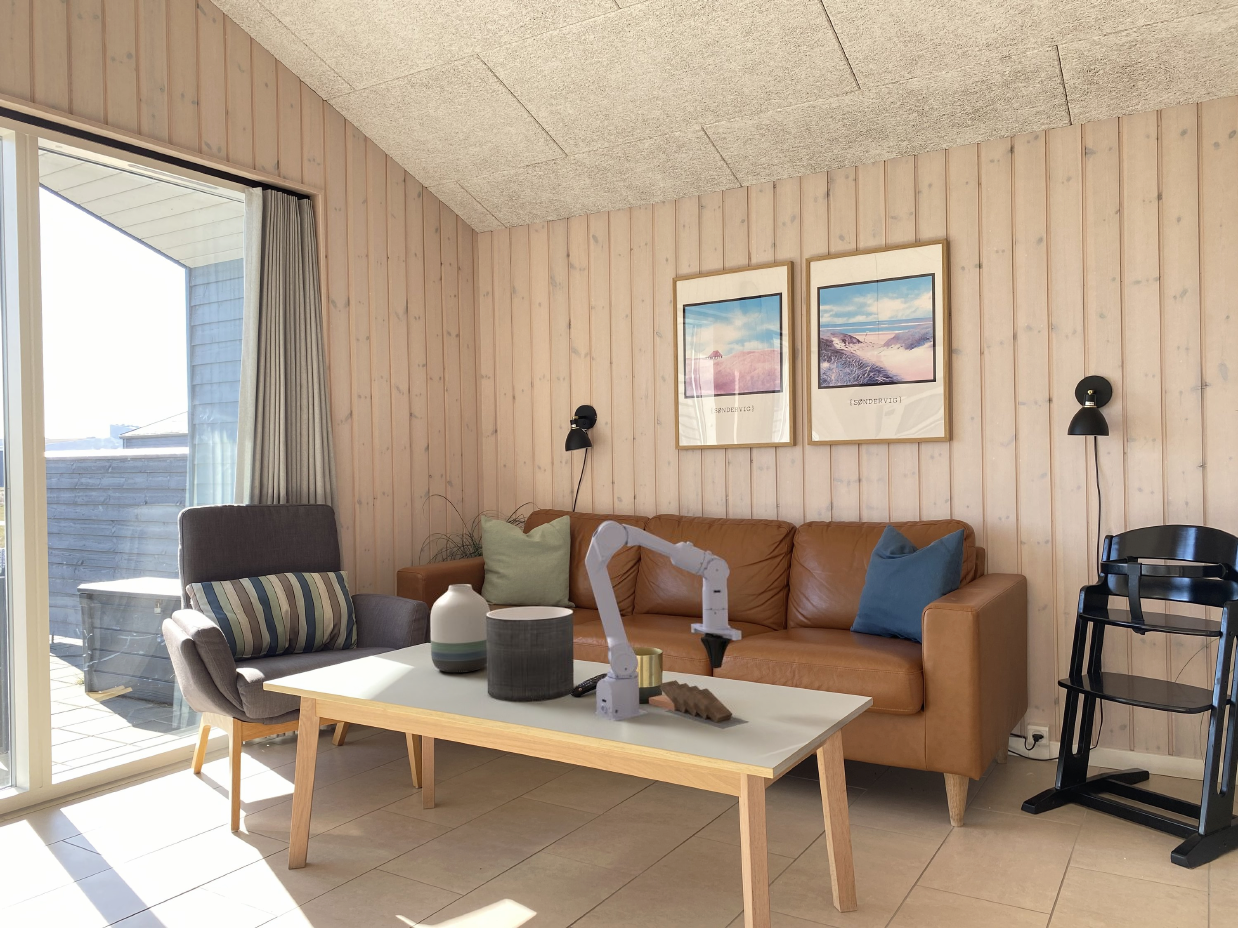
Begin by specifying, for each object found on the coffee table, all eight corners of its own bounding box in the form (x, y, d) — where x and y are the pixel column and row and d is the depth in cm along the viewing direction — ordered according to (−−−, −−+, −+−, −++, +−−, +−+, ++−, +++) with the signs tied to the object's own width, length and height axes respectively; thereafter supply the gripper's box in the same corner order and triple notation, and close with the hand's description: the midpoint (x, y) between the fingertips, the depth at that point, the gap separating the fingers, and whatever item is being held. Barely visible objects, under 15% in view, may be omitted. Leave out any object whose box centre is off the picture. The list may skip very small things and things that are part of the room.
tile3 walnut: (696, 710, 197) (672, 685, 203) (694, 716, 198) (670, 691, 204) (710, 707, 200) (686, 682, 206) (708, 713, 200) (684, 688, 207)
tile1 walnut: (718, 717, 192) (692, 691, 198) (715, 722, 192) (690, 697, 199) (732, 713, 194) (706, 688, 201) (730, 719, 195) (704, 693, 201)
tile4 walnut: (685, 707, 200) (661, 683, 206) (683, 713, 200) (659, 688, 207) (699, 704, 203) (676, 680, 209) (697, 709, 203) (674, 685, 210)
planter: (469, 697, 220) (468, 616, 220) (516, 678, 240) (515, 604, 240) (547, 705, 211) (545, 621, 211) (589, 685, 231) (587, 608, 231)
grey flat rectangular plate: (723, 729, 188) (723, 728, 188) (664, 712, 203) (664, 710, 203) (749, 722, 193) (749, 721, 193) (690, 706, 208) (690, 704, 208)
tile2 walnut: (706, 713, 194) (682, 688, 201) (704, 719, 195) (679, 694, 201) (721, 710, 197) (696, 685, 203) (718, 715, 198) (694, 690, 204)
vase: (439, 663, 262) (438, 582, 262) (496, 662, 261) (494, 581, 262) (424, 676, 245) (423, 589, 245) (485, 675, 244) (483, 588, 245)
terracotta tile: (674, 703, 203) (648, 697, 210) (674, 710, 203) (649, 704, 210) (688, 700, 206) (662, 694, 213) (688, 707, 206) (663, 701, 213)
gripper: (750, 609, 201) (751, 669, 200) (705, 603, 212) (707, 660, 212) (728, 613, 196) (729, 674, 196) (684, 606, 208) (685, 664, 208)
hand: (716, 667), depth 204 cm, fingers closed
